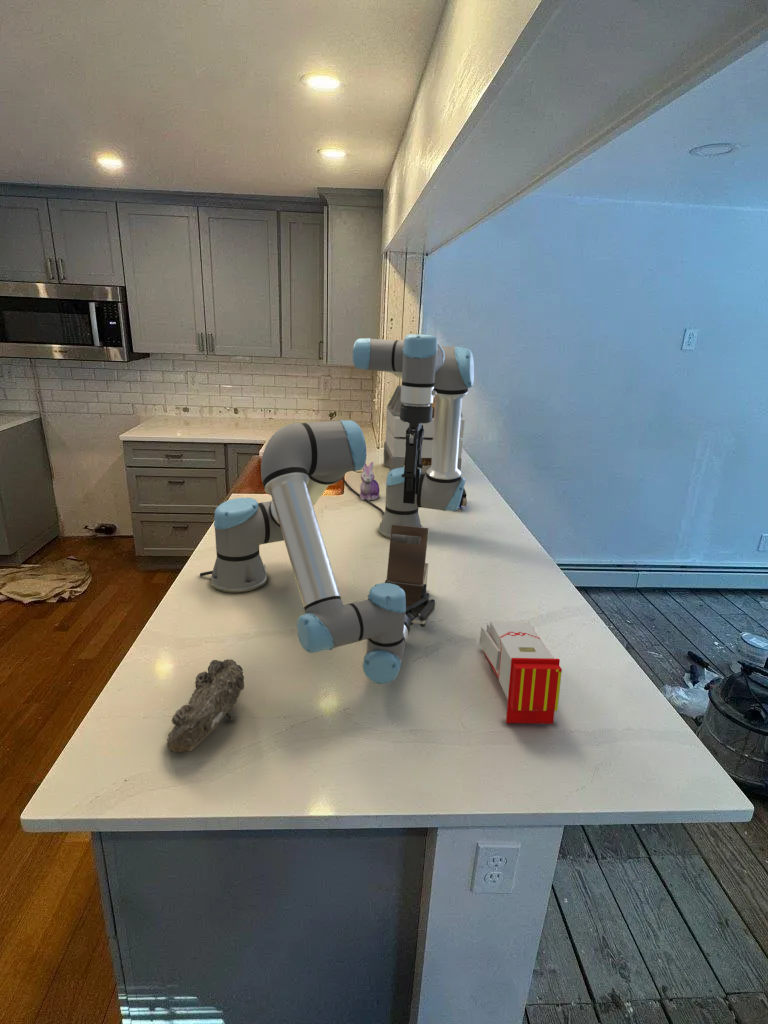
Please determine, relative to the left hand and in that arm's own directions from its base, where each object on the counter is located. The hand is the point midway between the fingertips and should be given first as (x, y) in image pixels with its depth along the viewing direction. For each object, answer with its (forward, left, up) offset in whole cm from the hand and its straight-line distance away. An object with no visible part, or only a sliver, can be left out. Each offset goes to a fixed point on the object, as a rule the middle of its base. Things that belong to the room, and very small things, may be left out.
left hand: (405, 586), depth 148 cm
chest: (0, +4, -6) cm, 7 cm away
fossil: (-30, -50, -6) cm, 59 cm away
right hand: (0, -1, +25) cm, 25 cm away
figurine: (-27, +88, -6) cm, 92 cm away
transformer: (-11, +132, -6) cm, 133 cm away
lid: (0, -1, +10) cm, 10 cm away
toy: (+27, -25, -6) cm, 38 cm away
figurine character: (+9, +88, -6) cm, 89 cm away
